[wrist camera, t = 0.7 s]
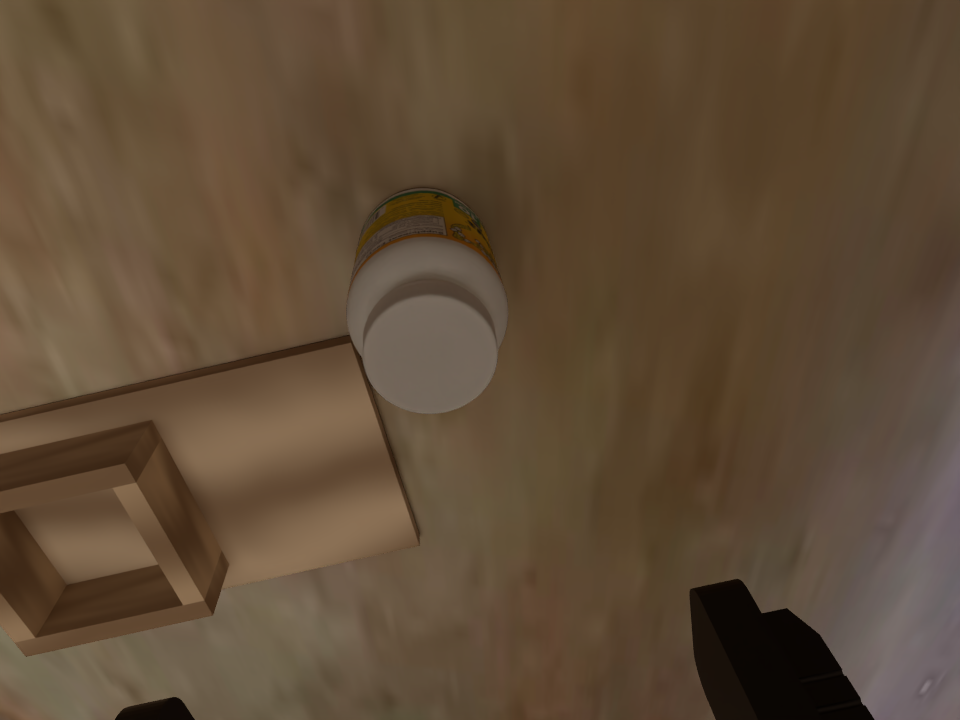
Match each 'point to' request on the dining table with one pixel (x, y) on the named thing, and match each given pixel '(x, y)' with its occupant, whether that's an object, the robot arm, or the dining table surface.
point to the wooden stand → (190, 493)
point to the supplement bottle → (426, 302)
